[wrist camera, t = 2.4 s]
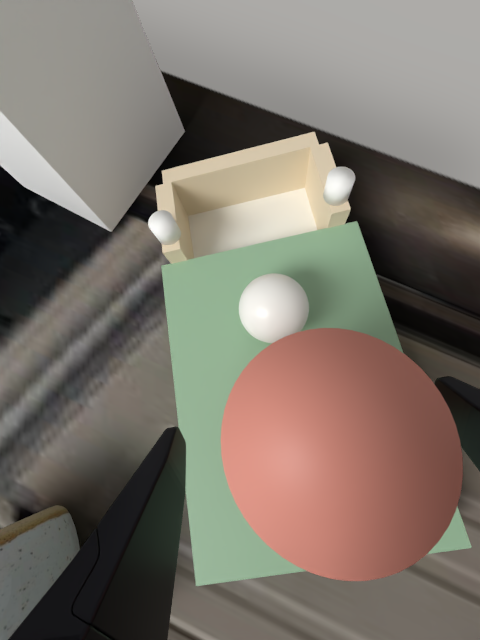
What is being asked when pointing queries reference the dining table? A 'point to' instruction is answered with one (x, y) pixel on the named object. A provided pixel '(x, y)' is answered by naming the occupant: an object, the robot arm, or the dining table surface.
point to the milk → (82, 104)
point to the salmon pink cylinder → (341, 454)
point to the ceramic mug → (32, 562)
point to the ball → (273, 307)
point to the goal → (250, 198)
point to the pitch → (235, 354)
